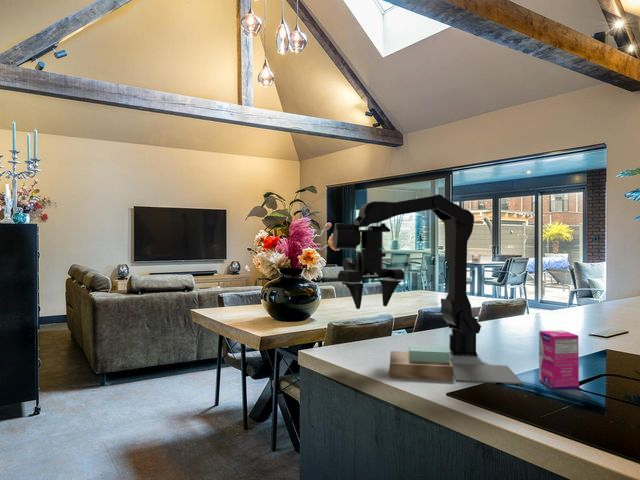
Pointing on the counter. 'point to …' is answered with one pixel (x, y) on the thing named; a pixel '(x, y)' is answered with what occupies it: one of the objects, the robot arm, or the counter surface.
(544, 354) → the supplement box
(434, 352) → the mint green block
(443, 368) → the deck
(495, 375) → the mat
